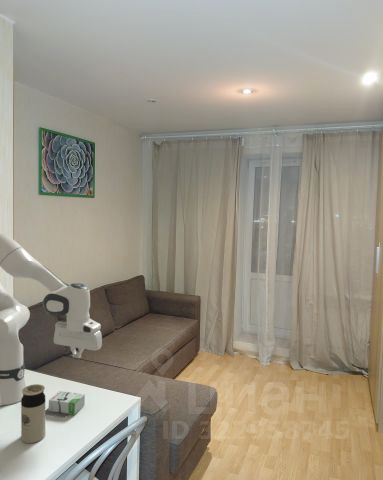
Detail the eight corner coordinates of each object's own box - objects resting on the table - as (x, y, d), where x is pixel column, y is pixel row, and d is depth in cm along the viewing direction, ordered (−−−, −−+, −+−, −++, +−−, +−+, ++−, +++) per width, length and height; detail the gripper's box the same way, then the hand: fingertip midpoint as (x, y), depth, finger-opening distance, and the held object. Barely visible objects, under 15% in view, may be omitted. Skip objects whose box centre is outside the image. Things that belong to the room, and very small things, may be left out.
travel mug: (38, 427, 141) (38, 381, 140) (49, 436, 136) (49, 388, 135) (17, 437, 135) (16, 389, 134) (28, 446, 130) (28, 396, 129)
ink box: (74, 403, 149) (47, 400, 152) (74, 415, 150) (47, 411, 152) (85, 393, 158) (59, 390, 160) (85, 404, 158) (59, 401, 160)
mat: (42, 413, 151) (42, 412, 151) (61, 397, 164) (61, 397, 164) (64, 417, 149) (64, 416, 149) (82, 401, 161) (82, 400, 161)
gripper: (50, 322, 151) (49, 356, 152) (96, 329, 146) (95, 364, 147) (60, 318, 157) (59, 350, 158) (104, 325, 152) (103, 358, 153)
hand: (76, 357), depth 153 cm, fingers closed
